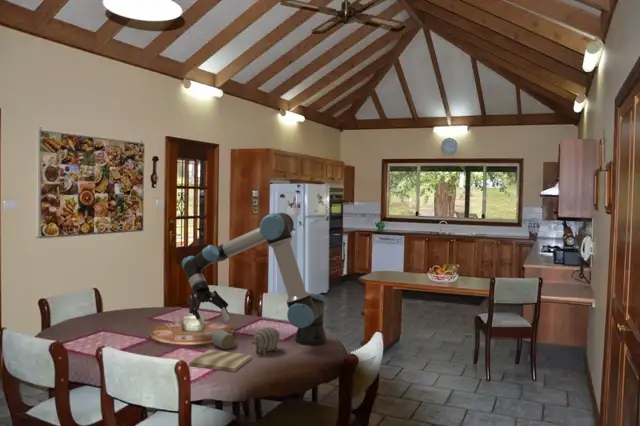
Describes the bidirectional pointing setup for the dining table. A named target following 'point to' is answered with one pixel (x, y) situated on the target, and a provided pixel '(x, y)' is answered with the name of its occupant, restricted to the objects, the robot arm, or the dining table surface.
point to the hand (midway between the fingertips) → (215, 322)
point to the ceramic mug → (223, 339)
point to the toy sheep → (266, 339)
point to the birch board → (220, 360)
